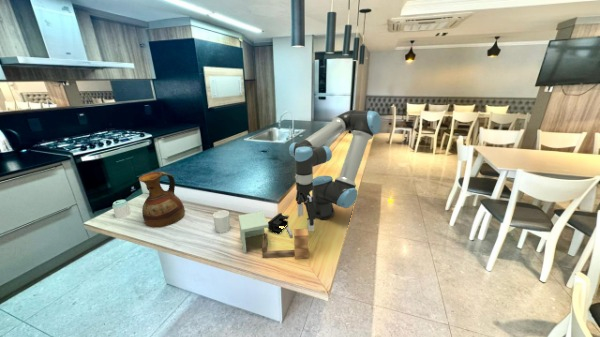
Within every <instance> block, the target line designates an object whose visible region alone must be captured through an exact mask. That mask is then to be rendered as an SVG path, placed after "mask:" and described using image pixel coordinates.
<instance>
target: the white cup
mask: <svg viewBox="0 0 600 337" xmlns="http://www.w3.org/2000/svg"><path fill="white" fill-rule="evenodd" d="M212 217H213V222H214V226H215V227H214V228H215V231H216V232H217V233H218V234H224V233H225V234H226V233H227V232H229V231H230V229H231V228H230V226H231V224H230V222H231V221H230V212H229V211H228V210H223V209H222V210H218V211H216V212H214V213H213V215H212Z"/></svg>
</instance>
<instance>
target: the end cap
mask: <svg viewBox="0 0 600 337" xmlns="http://www.w3.org/2000/svg"><path fill="white" fill-rule="evenodd" d="M285 219H286V220H285ZM288 219H289V218H288V217H287V216H285V215H283V213H282V212H280V213H277V214H276V215H275V216H274V217H272V218H271V219H270V220H269V221H267V222H268V226H269V227H268V228H267V229H268V231H269V232H271V233H273V232H274V233H273V234H276V233H277V234H276V235H280V234H281V233H282V232H283V231H284V230H285V229H286V227H289V226H288V224H289V221H288ZM286 225H287V226H286ZM279 226H284V227H285V226H286V227H285V229H284V228H283V229H284V230H283V229H281V228H279ZM282 230H283V231H282ZM280 232H281V233H280Z"/></svg>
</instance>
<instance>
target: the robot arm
mask: <svg viewBox="0 0 600 337" xmlns="http://www.w3.org/2000/svg"><path fill="white" fill-rule="evenodd" d="M381 126H382V118H381V115H380V114H379V113H378V111H373V110H357V109H352V110H351V109H350V110H348V111H345V112H341V113H339V115H337V116H335V117H334V118H333V119H332V120H331V122H329V123H328V124H326V125H324V126H323V127H322V128H320V129H319V130H317V131H315V132H314V133H312V134H311V135H310V136H308V137H307V138H305V139H304V140H302V141H300V142H292V143H291V144H290V145H289V147H288V152H289V155H290V156H291V157H293V158H294V165H295V167H294V169H295V175H294V179H295V188H296V195H295V201H296V204H297V217H303V216H304V206H305V210H306V213H307V217H308V218H306V219H307V229H308V232H312V231H315V220H317V219H318V220H327V219H331V218H333V216H334V215H335V208H334V205H335V206H338V207H341V208H343V209H347V208H350V207H351V206H352V205H354V204H355V202H356V200H357V199H358V190H357V189H356V187H357V184H356V183H355V180H356V178H357V175H358V172H359V169H360V166H361V164H362V161H363V157H364V155H365V152H366V149H367V146H368V143H369V140H372V139H373V137H374V135H377V134H378V133H379V132H380V131H381ZM348 131H350V132H351V134H352V137H351V140H350V144H349V145H348V146H349V147H348V150H347V153H346V155H345V158H344V162H343V164H342V167H341V170H340V172H339V175H338V177H336V178H335V179H333V177H332V176H330V175H318V176H315V177H314V176H313V174H314V171H313V170H314V169H313V168H314V167H318V166H319V165H323V164H326V163H327V162H329V161H330V160H332V157H333V152H332V150H331V148H330V147H329V146H326V145H325V146H323V145H324V144H326V143H328V142H329V141H330V140H332V139H333V138H334V137H336V136H337V135H338V134H343V133H345V132H348ZM333 180H334V181H333Z"/></svg>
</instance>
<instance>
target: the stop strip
mask: <svg viewBox="0 0 600 337" xmlns="http://www.w3.org/2000/svg"><path fill="white" fill-rule="evenodd" d="M285 230H287V231H286V233H287V232H288V233H287V234H289V235H288V237H289V238H290V239H294V233H293V232H292V230H291V228H290V227H289V226H287V227H286V228H285Z"/></svg>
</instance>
